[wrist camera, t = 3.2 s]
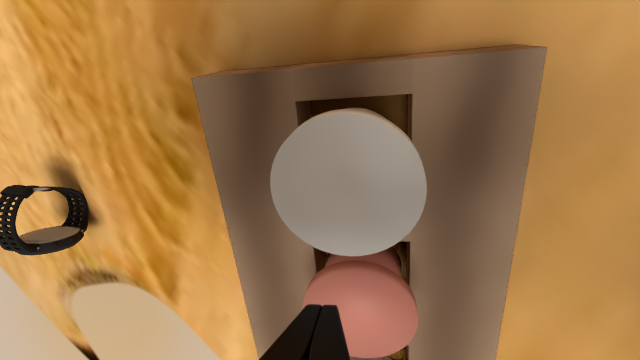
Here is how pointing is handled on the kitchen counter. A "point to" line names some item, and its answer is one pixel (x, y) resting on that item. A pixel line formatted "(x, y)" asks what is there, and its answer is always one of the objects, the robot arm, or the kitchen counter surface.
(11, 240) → the smartwatch
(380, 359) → the grey plug far
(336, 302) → the red plug
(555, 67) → the kitchen counter surface
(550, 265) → the kitchen counter surface
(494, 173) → the socket board
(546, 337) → the kitchen counter surface
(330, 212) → the grey plug near
